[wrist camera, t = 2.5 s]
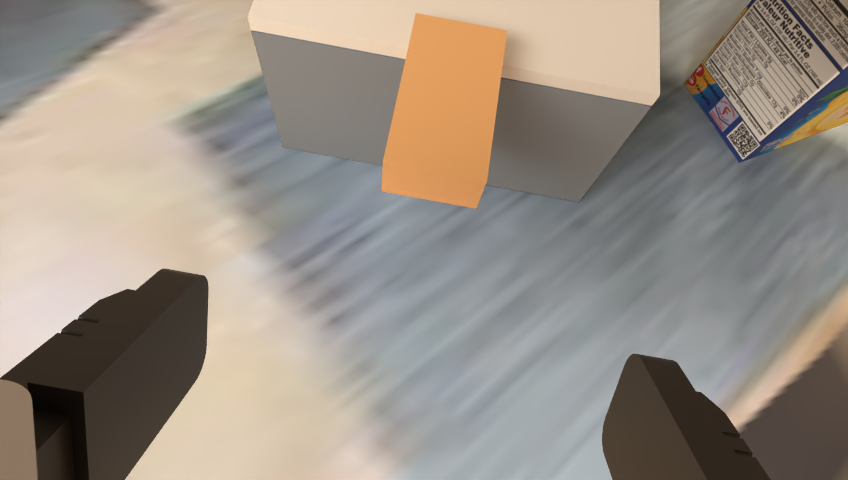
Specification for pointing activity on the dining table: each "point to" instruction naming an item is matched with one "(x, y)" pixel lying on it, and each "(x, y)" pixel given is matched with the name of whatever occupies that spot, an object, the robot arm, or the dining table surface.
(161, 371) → the robot arm
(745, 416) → the dining table surface
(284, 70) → the carton
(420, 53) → the lid flap
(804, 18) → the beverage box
